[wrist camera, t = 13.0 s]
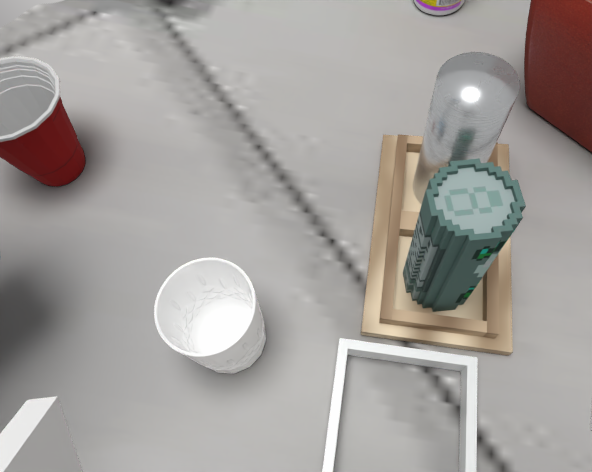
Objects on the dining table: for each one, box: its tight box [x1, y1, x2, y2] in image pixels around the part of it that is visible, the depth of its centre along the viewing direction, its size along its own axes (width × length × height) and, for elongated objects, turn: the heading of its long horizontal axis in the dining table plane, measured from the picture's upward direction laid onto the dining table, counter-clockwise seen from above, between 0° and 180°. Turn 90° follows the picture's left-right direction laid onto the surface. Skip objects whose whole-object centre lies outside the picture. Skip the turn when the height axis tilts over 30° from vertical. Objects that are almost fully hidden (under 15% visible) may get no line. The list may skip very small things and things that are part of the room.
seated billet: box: [413, 52, 520, 205], centre depth 44 cm, size 6×6×15 cm
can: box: [403, 158, 526, 312], centre depth 40 cm, size 6×6×15 cm
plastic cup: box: [0, 56, 85, 187], centre depth 52 cm, size 11×11×12 cm
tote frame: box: [322, 338, 477, 472], centre depth 41 cm, size 12×12×2 cm
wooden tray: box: [361, 135, 513, 356], centre depth 48 cm, size 13×22×3 cm, turn 171°
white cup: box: [154, 258, 266, 374], centre depth 42 cm, size 8×8×10 cm
